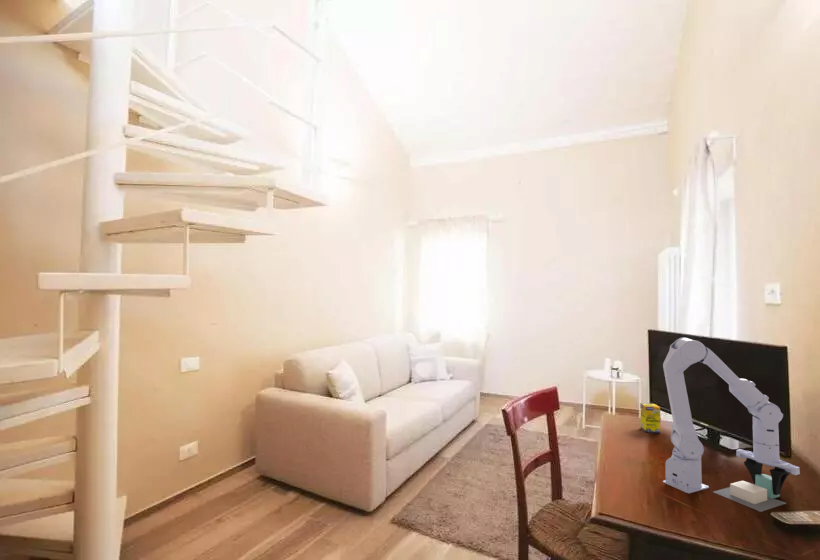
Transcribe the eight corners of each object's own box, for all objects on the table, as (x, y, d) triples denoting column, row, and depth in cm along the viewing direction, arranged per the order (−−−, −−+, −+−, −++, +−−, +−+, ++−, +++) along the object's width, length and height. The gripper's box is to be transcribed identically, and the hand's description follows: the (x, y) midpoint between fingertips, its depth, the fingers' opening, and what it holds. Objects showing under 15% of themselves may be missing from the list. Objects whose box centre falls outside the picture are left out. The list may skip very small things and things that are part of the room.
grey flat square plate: (760, 512, 109) (760, 511, 109) (712, 492, 120) (712, 491, 120) (786, 504, 114) (786, 503, 114) (737, 485, 125) (737, 484, 125)
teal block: (771, 498, 116) (771, 480, 117) (754, 492, 120) (755, 474, 120) (779, 497, 118) (780, 479, 118) (763, 491, 121) (763, 473, 122)
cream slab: (754, 504, 113) (754, 493, 113) (730, 494, 119) (730, 483, 119) (767, 500, 115) (767, 489, 116) (743, 490, 121) (742, 480, 121)
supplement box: (645, 432, 174) (645, 406, 174) (640, 428, 180) (639, 402, 180) (661, 433, 173) (660, 407, 173) (655, 429, 179) (654, 403, 179)
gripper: (805, 449, 114) (806, 499, 114) (745, 433, 128) (746, 478, 127) (790, 452, 112) (792, 504, 111) (731, 436, 125) (732, 481, 124)
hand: (767, 490), depth 119 cm, fingers closed on teal block, 4 cm apart
